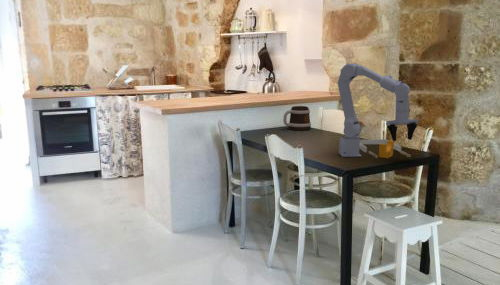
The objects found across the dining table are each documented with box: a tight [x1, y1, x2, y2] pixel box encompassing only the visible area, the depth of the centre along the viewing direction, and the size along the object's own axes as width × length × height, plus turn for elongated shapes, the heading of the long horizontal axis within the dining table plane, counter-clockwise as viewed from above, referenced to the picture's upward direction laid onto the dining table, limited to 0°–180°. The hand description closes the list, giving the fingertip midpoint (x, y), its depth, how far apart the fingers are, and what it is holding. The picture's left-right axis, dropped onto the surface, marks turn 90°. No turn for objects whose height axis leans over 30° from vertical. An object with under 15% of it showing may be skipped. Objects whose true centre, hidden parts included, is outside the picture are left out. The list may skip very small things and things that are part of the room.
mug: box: [283, 105, 312, 132], centre depth 286 cm, size 20×15×15 cm
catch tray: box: [359, 138, 402, 153], centre depth 228 cm, size 19×21×2 cm
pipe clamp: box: [378, 140, 395, 159], centre depth 210 cm, size 12×4×6 cm, turn 142°
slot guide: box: [368, 150, 412, 159], centre depth 210 cm, size 17×10×1 cm, turn 94°
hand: (401, 140), depth 198 cm, fingers open, 7 cm apart
